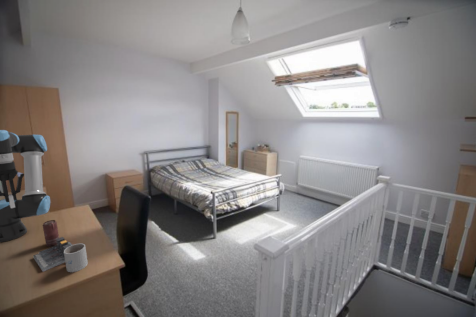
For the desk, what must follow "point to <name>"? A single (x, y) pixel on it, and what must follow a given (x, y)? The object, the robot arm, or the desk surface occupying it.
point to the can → (50, 232)
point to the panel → (49, 258)
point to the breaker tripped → (63, 245)
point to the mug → (75, 257)
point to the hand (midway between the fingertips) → (12, 207)
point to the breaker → (59, 241)
